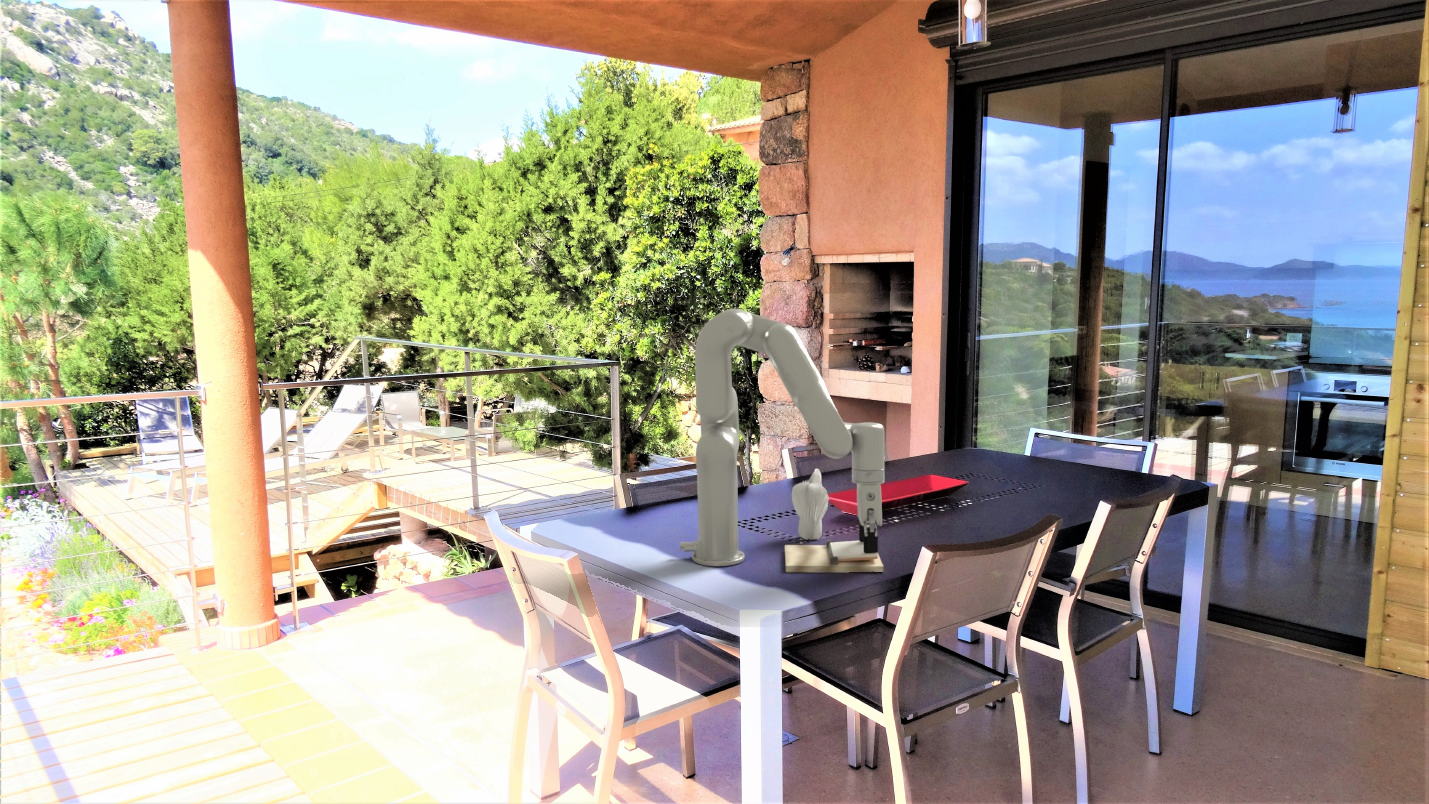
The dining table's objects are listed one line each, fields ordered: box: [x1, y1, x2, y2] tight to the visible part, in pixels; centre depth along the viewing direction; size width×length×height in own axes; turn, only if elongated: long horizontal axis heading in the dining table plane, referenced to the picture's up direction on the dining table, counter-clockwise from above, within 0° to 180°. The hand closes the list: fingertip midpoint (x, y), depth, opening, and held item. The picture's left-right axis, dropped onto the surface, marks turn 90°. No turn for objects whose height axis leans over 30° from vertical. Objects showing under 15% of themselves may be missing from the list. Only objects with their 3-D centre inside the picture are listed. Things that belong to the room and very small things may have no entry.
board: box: [784, 539, 884, 573], centre depth 204 cm, size 22×17×3 cm
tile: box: [828, 540, 879, 562], centre depth 204 cm, size 10×12×1 cm
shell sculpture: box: [790, 468, 830, 541], centre depth 224 cm, size 8×8×18 cm
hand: (868, 546), depth 203 cm, fingers open, 9 cm apart
